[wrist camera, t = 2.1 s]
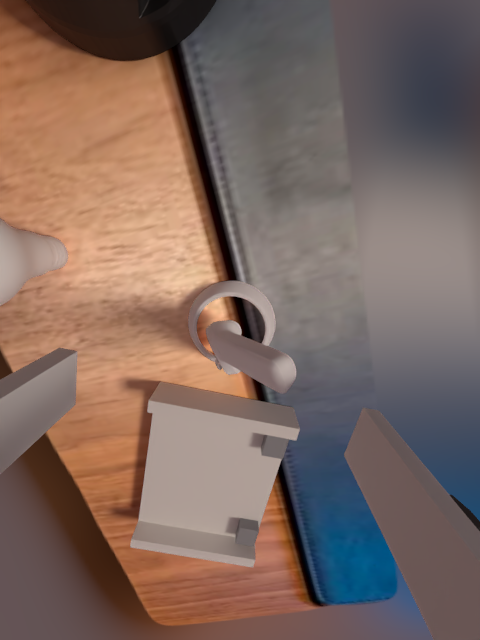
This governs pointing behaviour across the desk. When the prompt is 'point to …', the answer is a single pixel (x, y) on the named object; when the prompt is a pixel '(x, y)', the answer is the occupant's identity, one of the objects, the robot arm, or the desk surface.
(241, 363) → the hook
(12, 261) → the lightbulb
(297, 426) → the panel
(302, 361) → the desk surface
